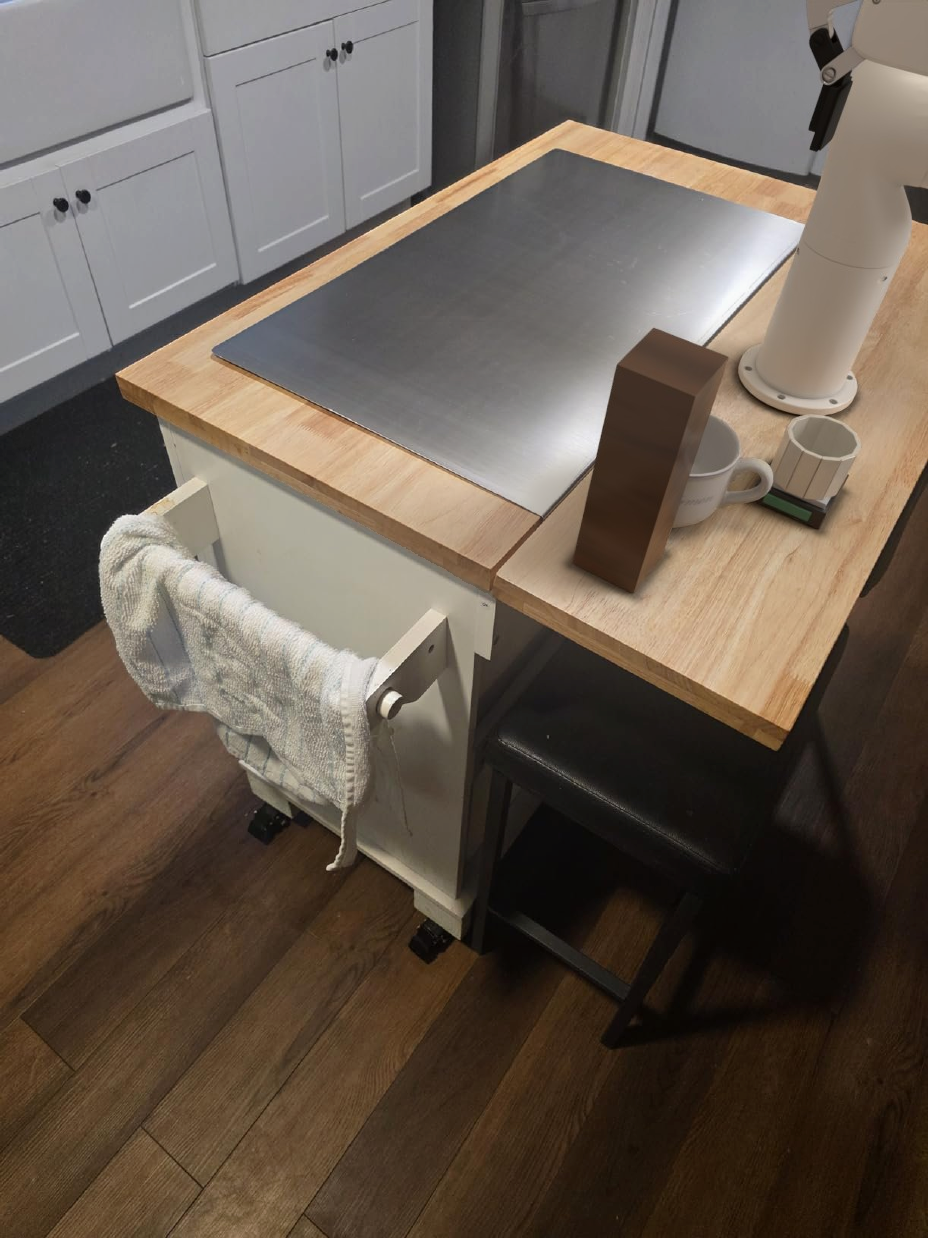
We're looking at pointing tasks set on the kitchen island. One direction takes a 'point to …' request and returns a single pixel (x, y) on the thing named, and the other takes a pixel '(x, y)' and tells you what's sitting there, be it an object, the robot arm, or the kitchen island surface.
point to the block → (646, 455)
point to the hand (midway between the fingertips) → (888, 165)
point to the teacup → (719, 475)
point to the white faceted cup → (815, 456)
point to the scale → (798, 504)
